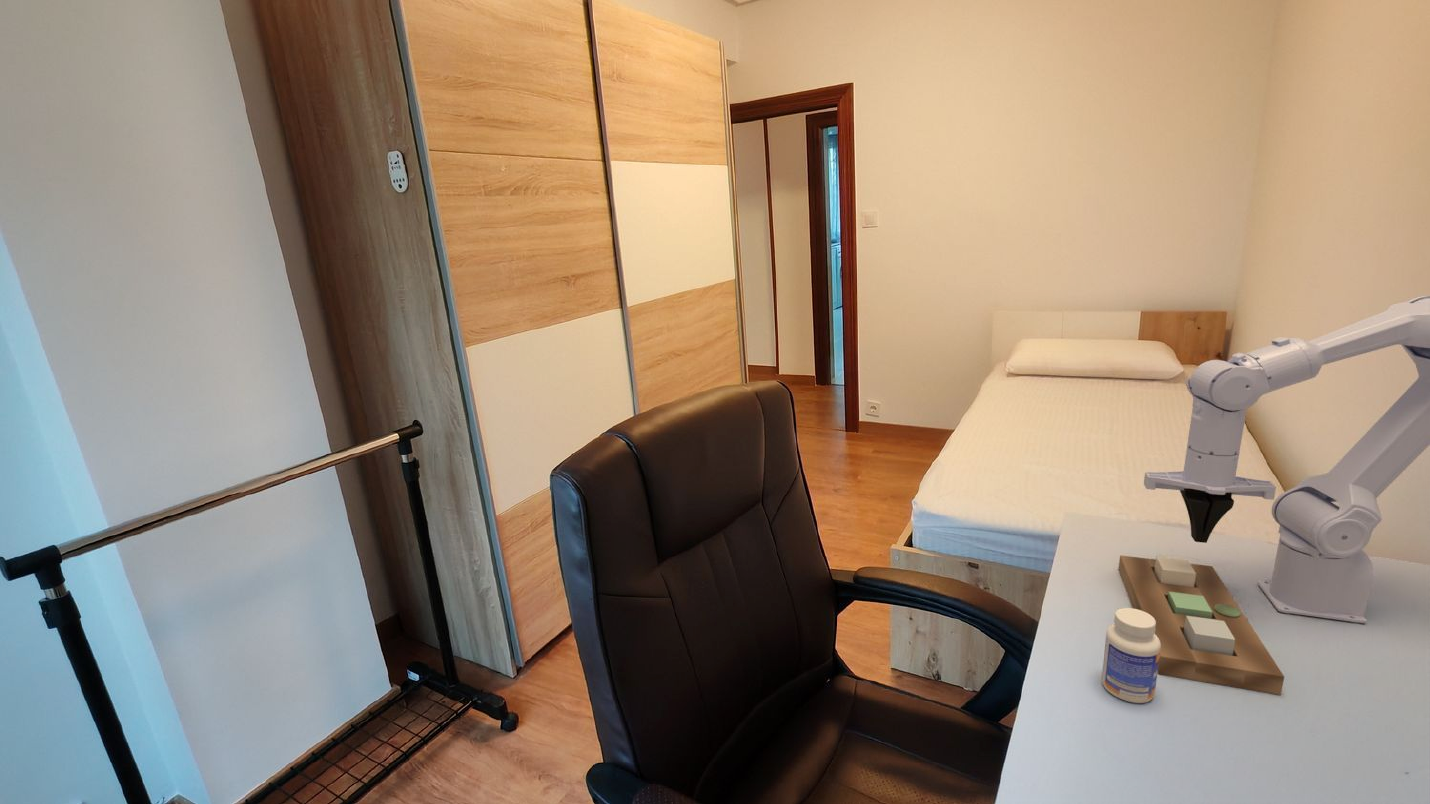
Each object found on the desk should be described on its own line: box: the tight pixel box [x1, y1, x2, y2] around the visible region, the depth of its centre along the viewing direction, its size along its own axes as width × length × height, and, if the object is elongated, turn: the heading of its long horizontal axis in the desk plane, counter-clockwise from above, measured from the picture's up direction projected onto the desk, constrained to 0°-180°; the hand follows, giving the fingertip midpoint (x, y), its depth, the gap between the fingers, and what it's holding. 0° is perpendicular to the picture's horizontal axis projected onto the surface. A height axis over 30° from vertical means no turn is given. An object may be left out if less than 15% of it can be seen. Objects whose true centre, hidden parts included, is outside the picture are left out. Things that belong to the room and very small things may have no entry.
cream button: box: [1154, 556, 1196, 587], centre depth 95 cm, size 4×4×3 cm
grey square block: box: [1183, 616, 1235, 656], centre depth 81 cm, size 4×4×3 cm
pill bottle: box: [1101, 607, 1161, 704], centre depth 76 cm, size 5×5×10 cm
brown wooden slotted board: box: [1118, 555, 1285, 696], centre depth 88 cm, size 12×26×3 cm, turn 158°
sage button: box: [1167, 592, 1213, 619], centre depth 88 cm, size 4×4×3 cm
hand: (1198, 539), depth 92 cm, fingers closed
